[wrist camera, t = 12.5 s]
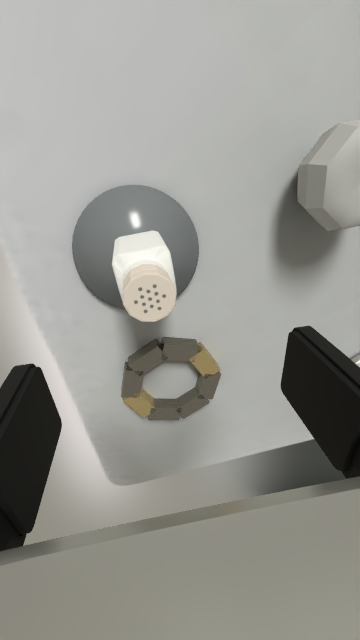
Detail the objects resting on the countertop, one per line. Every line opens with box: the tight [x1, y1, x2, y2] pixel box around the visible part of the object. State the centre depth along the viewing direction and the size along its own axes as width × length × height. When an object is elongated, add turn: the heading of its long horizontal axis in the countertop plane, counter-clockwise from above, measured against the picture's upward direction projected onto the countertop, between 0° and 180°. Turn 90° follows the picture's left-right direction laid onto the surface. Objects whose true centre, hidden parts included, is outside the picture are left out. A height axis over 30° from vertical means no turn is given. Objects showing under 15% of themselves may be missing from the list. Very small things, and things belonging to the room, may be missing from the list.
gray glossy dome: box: [72, 185, 199, 309], centre depth 24 cm, size 11×11×1 cm
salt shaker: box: [112, 231, 177, 322], centre depth 20 cm, size 4×4×10 cm
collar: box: [121, 337, 221, 420], centre depth 31 cm, size 11×11×2 cm
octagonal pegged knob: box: [297, 119, 360, 231], centre depth 21 cm, size 8×8×7 cm
